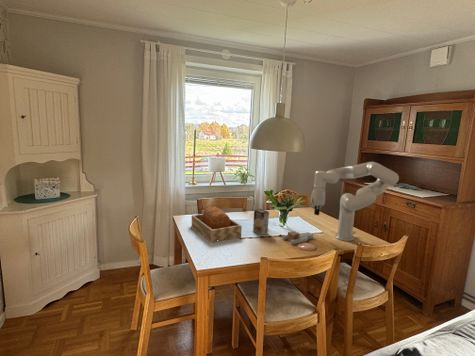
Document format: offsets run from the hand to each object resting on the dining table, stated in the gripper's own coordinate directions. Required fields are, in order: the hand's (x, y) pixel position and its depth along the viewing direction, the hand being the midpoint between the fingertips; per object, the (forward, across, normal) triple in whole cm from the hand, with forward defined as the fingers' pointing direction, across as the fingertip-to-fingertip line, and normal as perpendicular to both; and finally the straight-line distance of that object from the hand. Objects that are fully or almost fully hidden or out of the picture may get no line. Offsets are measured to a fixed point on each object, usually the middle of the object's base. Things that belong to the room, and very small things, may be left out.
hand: (316, 214), depth 197 cm
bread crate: (+16, +60, -38) cm, 72 cm away
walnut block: (+16, +20, 0) cm, 26 cm away
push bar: (+16, +11, 0) cm, 19 cm away
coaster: (+15, +20, +12) cm, 28 cm away
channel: (+16, +19, 0) cm, 24 cm away
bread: (+17, +59, -39) cm, 72 cm away
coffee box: (+16, +32, -22) cm, 42 cm away
